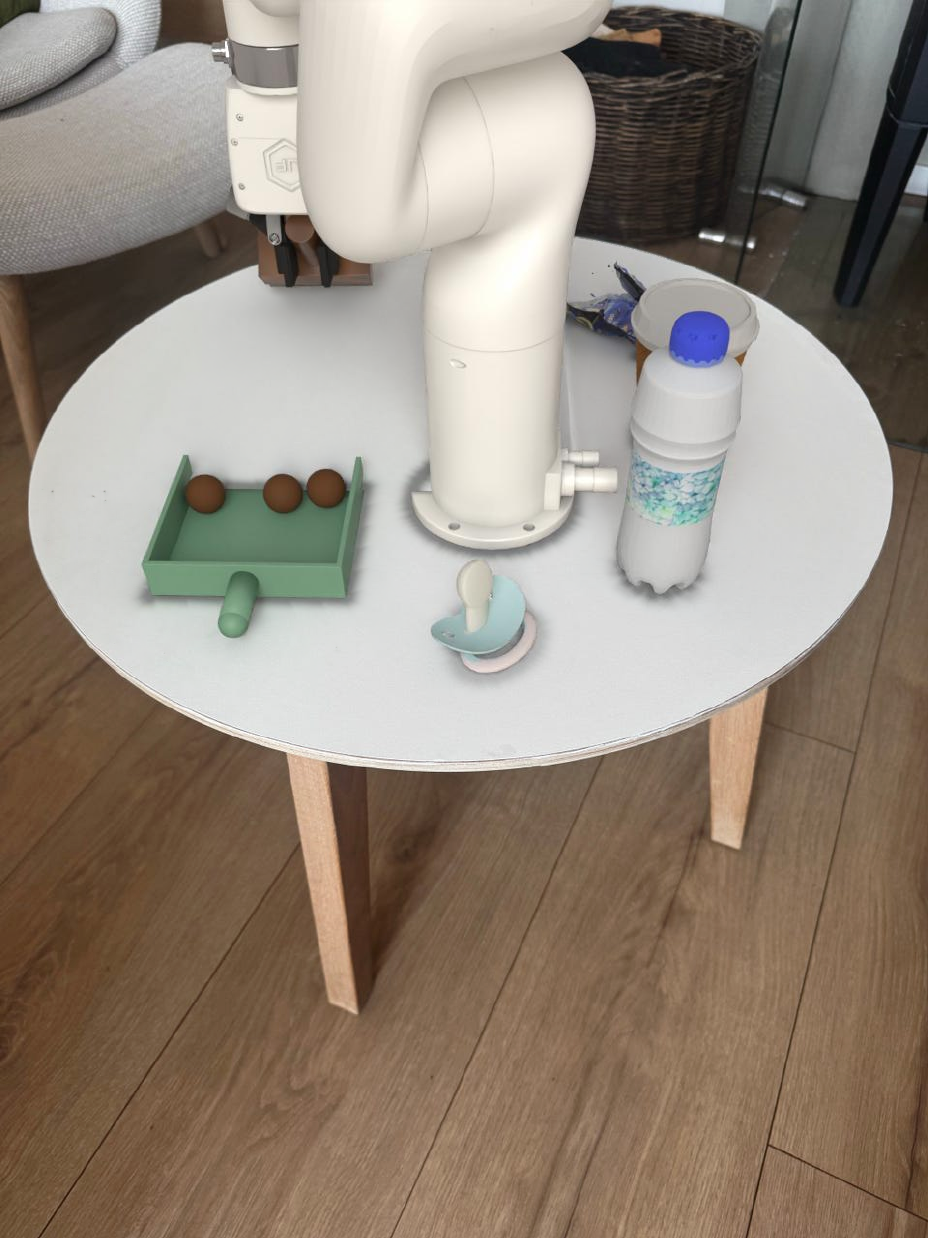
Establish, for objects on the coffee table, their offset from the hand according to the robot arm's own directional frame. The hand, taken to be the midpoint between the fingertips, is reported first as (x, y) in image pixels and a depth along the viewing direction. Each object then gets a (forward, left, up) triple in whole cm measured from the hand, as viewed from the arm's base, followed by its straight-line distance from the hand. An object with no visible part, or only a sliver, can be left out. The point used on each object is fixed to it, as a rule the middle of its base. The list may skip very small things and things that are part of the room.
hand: (310, 278), depth 90 cm
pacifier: (-17, +39, -6) cm, 43 cm away
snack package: (-28, -2, -6) cm, 29 cm away
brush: (0, -6, -2) cm, 6 cm away
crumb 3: (-4, +25, -4) cm, 26 cm away
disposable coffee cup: (-32, +16, -6) cm, 36 cm away
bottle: (-29, +32, -6) cm, 44 cm away
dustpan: (0, +32, -6) cm, 32 cm away
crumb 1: (+5, +26, -4) cm, 27 cm away
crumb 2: (-1, +26, -4) cm, 26 cm away
